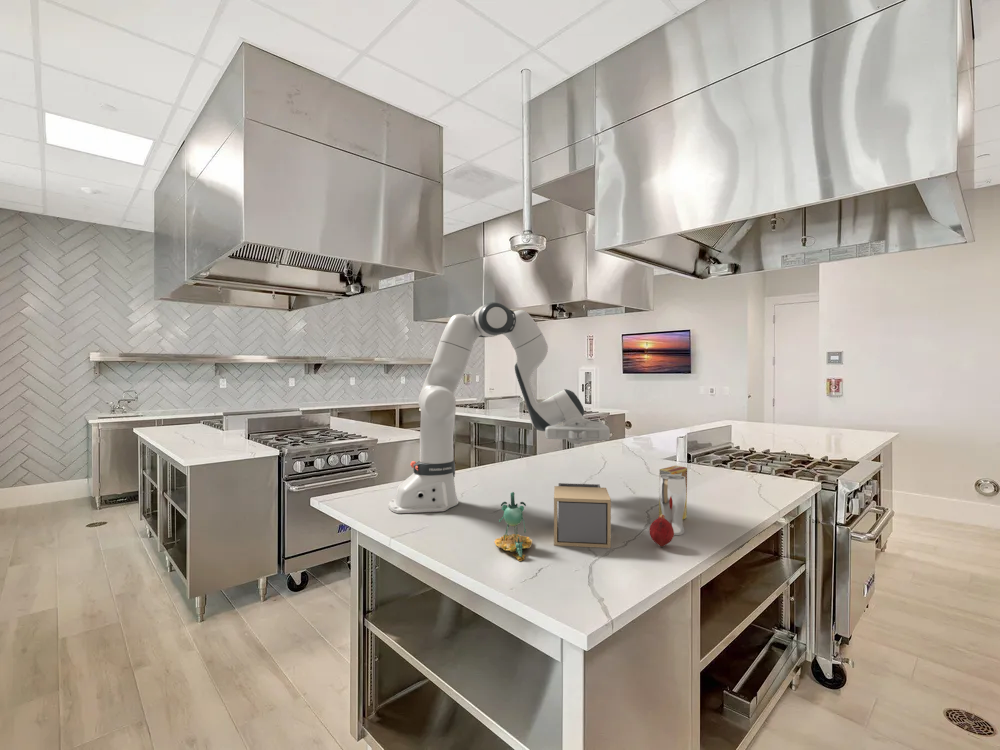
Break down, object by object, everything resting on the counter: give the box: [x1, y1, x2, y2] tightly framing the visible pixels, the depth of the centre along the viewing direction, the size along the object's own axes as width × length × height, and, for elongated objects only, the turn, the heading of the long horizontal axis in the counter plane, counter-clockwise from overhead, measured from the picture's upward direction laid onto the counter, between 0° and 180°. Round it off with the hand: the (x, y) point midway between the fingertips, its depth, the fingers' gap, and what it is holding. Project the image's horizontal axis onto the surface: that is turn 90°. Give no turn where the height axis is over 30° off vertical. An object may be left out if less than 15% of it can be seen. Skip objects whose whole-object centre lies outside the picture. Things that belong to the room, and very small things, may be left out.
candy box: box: [658, 465, 688, 520], centre depth 138 cm, size 9×4×15 cm, turn 129°
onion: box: [648, 514, 675, 547], centre depth 117 cm, size 6×6×8 cm
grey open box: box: [557, 482, 606, 543], centre depth 127 cm, size 20×12×10 cm, turn 173°
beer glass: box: [658, 474, 686, 536], centre depth 128 cm, size 7×7×15 cm
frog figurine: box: [493, 491, 533, 562], centre depth 118 cm, size 10×18×15 cm, turn 175°
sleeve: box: [553, 485, 612, 549], centre depth 123 cm, size 12×14×12 cm
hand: (578, 436), depth 143 cm, fingers closed
